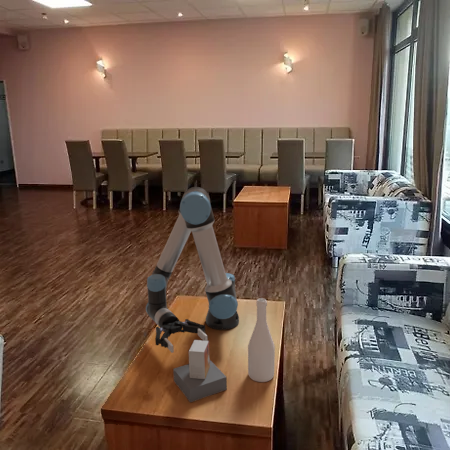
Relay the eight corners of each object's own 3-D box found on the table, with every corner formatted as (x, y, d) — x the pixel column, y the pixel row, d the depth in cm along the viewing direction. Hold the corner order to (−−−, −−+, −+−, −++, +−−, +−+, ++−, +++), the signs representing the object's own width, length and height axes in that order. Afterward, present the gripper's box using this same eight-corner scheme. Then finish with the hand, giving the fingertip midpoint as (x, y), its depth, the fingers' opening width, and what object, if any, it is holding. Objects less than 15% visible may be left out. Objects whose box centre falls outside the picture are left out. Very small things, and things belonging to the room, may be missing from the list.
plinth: (208, 369, 169) (208, 357, 167) (226, 389, 157) (226, 376, 155) (173, 381, 162) (173, 368, 161) (190, 402, 150) (189, 389, 149)
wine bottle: (244, 380, 162) (244, 303, 154) (252, 366, 171) (252, 292, 163) (270, 385, 159) (271, 307, 151) (276, 370, 167) (278, 296, 160)
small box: (205, 380, 154) (204, 352, 151) (189, 378, 155) (188, 351, 152) (210, 366, 162) (209, 340, 159) (195, 365, 163) (194, 339, 160)
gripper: (195, 321, 187) (220, 344, 170) (137, 337, 175) (158, 363, 158) (194, 305, 185) (219, 326, 168) (136, 319, 174) (156, 344, 156)
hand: (189, 344), depth 163 cm, fingers open, 13 cm apart
